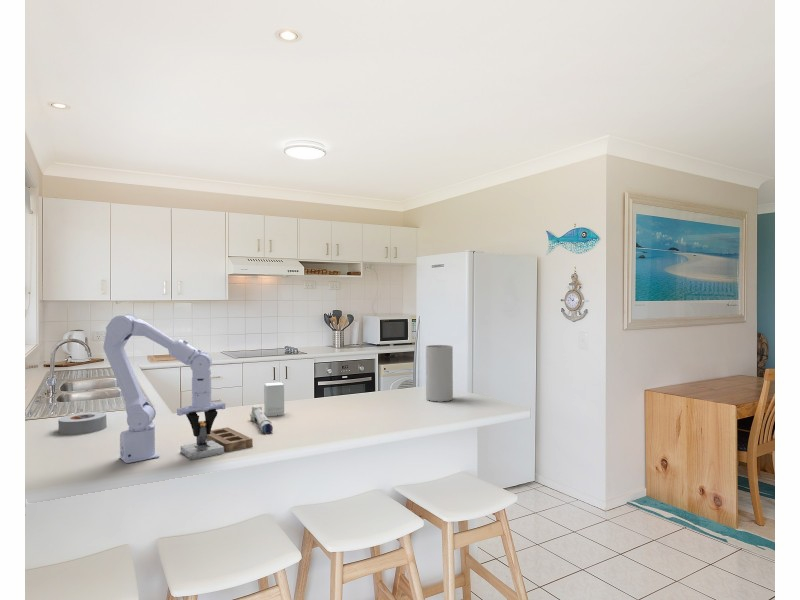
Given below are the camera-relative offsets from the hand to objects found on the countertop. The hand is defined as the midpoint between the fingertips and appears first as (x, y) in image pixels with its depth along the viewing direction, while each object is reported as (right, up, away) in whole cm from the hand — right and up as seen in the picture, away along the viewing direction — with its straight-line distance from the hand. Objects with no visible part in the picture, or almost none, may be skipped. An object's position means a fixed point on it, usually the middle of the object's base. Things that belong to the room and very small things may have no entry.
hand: (201, 434), depth 167 cm
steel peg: (0, -3, 0) cm, 3 cm away
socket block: (0, -6, 0) cm, 6 cm away
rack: (+4, -6, +11) cm, 13 cm away
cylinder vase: (+81, -4, +82) cm, 115 cm away
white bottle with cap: (+10, -6, +34) cm, 36 cm away
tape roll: (-56, -6, +30) cm, 63 cm away
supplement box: (+10, -5, +54) cm, 55 cm away
